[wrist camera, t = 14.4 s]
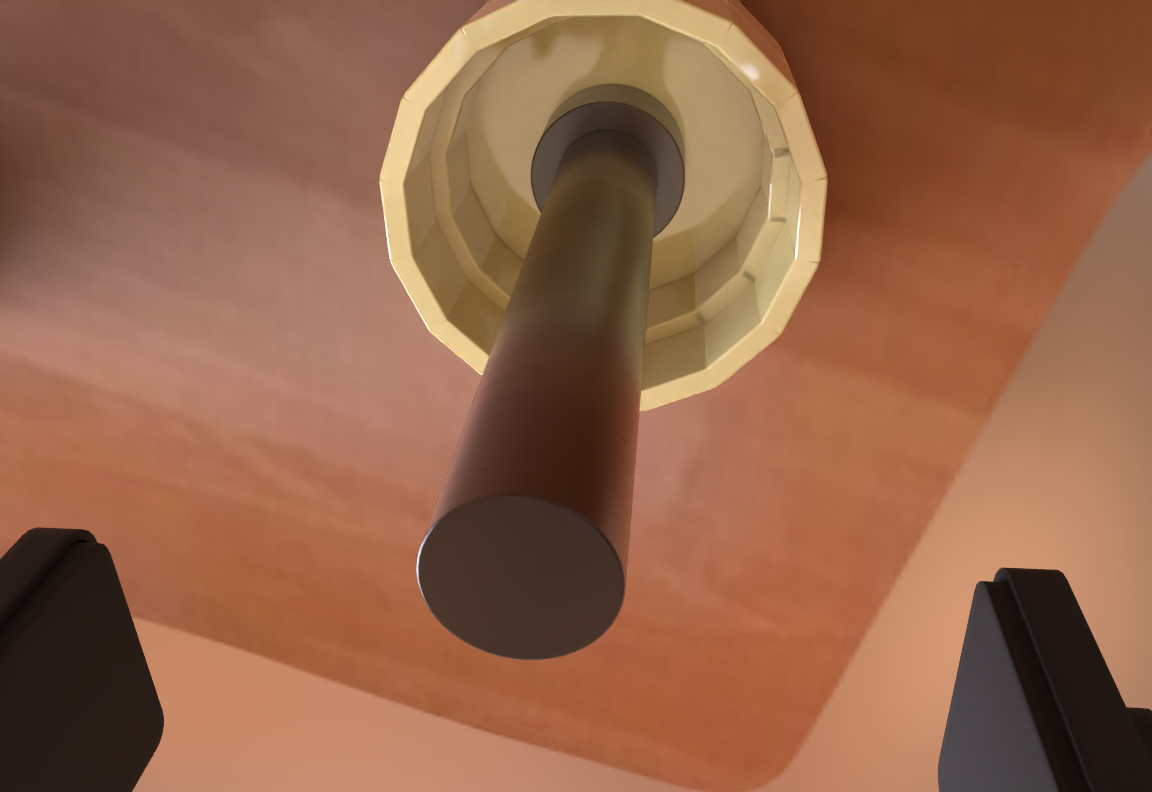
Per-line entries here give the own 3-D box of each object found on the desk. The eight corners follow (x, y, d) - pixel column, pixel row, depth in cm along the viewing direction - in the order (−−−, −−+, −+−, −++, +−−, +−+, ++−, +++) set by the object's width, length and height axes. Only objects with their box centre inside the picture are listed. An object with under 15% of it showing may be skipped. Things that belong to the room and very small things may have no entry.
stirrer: (686, 82, 27) (686, 449, 11) (683, 226, 29) (680, 707, 13) (535, 84, 27) (338, 442, 12) (543, 226, 29) (380, 693, 14)
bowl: (814, -54, 26) (846, -20, 21) (786, 314, 31) (806, 415, 26) (418, -44, 27) (353, -10, 22) (453, 311, 32) (407, 408, 27)
